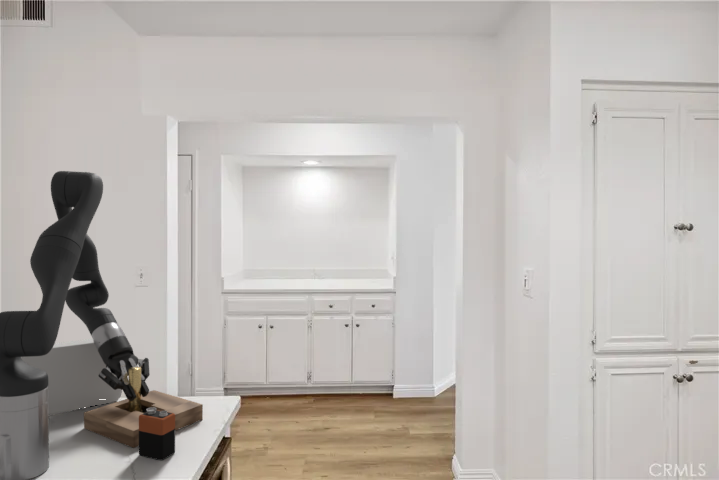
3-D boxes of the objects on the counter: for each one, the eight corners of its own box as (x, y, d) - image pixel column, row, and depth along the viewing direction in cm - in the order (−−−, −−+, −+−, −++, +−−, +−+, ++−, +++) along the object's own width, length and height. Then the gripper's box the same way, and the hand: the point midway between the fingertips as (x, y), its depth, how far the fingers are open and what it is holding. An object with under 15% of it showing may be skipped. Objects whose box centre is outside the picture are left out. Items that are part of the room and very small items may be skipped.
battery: (152, 447, 114) (152, 404, 114) (176, 452, 112) (176, 409, 111) (137, 455, 110) (137, 411, 110) (162, 461, 107) (162, 415, 107)
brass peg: (131, 423, 126) (132, 372, 125) (119, 419, 129) (119, 369, 128) (149, 416, 130) (150, 367, 130) (137, 412, 133) (137, 364, 132)
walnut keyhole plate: (133, 448, 113) (133, 430, 113) (84, 428, 124) (84, 412, 124) (202, 419, 131) (202, 404, 130) (153, 404, 141) (153, 390, 141)
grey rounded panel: (115, 393, 149) (115, 334, 148) (122, 401, 143) (122, 339, 143) (-3, 416, 131) (-3, 348, 130) (0, 425, 125) (-1, 354, 124)
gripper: (92, 340, 127) (121, 396, 121) (141, 330, 138) (169, 381, 133) (80, 357, 129) (108, 413, 124) (129, 346, 141) (157, 397, 136)
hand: (139, 396), depth 128 cm, fingers closed on brass peg, 3 cm apart
